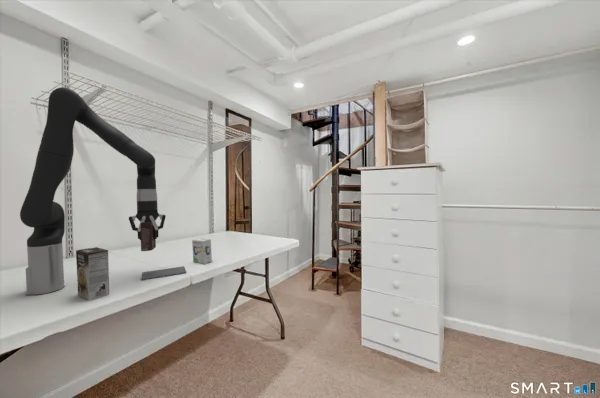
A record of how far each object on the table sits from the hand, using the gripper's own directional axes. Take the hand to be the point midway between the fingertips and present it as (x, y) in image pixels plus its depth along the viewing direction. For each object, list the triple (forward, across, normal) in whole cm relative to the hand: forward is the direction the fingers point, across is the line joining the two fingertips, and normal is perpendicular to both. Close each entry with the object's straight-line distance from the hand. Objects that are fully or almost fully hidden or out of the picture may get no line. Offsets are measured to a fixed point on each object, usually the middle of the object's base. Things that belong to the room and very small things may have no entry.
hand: (148, 239), depth 109 cm
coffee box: (+16, -17, -13) cm, 27 cm away
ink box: (+16, +23, +10) cm, 30 cm away
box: (+5, 0, 0) cm, 5 cm away
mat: (+16, +6, 0) cm, 17 cm away
